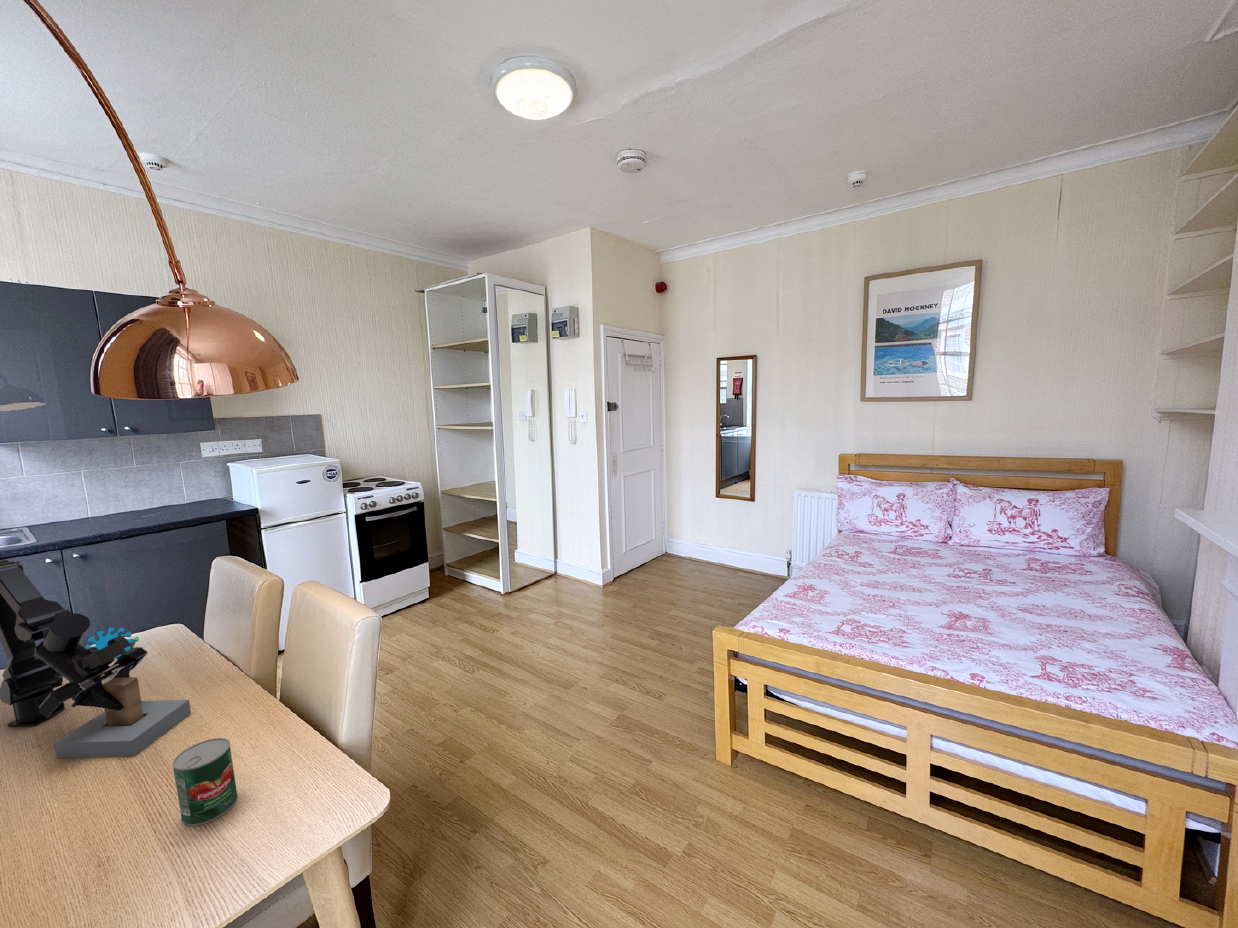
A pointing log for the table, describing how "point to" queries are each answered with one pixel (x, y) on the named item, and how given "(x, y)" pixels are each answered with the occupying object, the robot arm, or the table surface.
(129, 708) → the walnut peg
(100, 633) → the gear
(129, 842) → the table surface
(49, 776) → the table surface
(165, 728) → the socket block
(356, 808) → the table surface
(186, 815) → the canned tomato
